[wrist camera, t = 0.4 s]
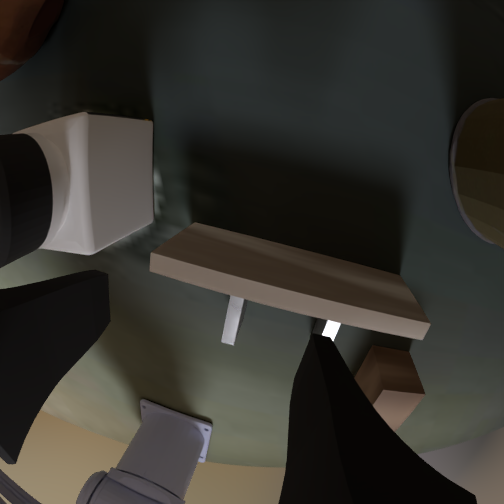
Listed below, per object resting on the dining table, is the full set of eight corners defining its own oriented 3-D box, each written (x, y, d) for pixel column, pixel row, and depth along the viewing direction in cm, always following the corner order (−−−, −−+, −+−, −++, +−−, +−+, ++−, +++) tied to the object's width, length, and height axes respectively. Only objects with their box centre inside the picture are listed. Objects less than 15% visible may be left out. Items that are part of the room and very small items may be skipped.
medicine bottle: (155, 119, 17) (0, 107, 6) (156, 222, 19) (21, 301, 8) (78, 130, 18) (-55, 142, 7) (82, 218, 20) (-40, 274, 9)
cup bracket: (320, 340, 20) (321, 366, 17) (232, 317, 21) (221, 341, 18) (345, 275, 18) (351, 297, 15) (246, 250, 19) (236, 267, 16)
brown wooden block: (349, 436, 24) (350, 476, 19) (318, 432, 24) (316, 473, 19) (408, 350, 19) (425, 394, 15) (372, 343, 20) (383, 389, 15)
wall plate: (394, 288, 18) (422, 340, 12) (192, 236, 19) (149, 271, 14) (399, 275, 18) (431, 323, 12) (194, 222, 19) (150, 252, 13)
